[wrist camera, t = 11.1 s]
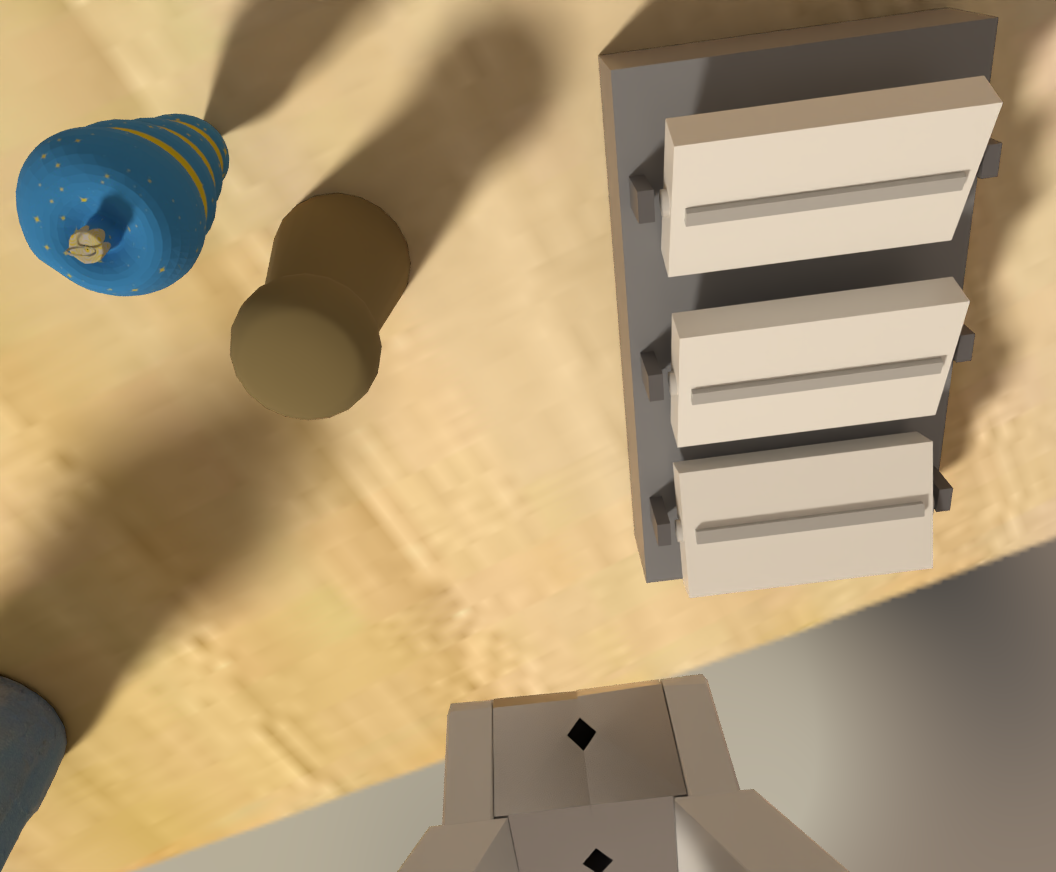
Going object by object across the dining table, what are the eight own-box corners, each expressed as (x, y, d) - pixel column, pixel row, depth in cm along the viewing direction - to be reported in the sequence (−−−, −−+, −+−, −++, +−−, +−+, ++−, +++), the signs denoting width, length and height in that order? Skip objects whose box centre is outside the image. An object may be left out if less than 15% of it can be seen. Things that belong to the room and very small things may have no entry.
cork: (278, 322, 41) (217, 445, 32) (266, 190, 38) (194, 281, 28) (411, 326, 41) (390, 448, 32) (409, 195, 38) (385, 287, 29)
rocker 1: (659, 119, 31) (670, 152, 30) (990, 74, 31) (1012, 106, 30) (655, 250, 36) (664, 283, 35) (941, 212, 36) (959, 244, 34)
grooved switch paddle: (668, 462, 40) (675, 476, 39) (921, 430, 40) (940, 442, 38) (679, 583, 42) (686, 601, 40) (921, 553, 42) (940, 570, 40)
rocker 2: (666, 313, 35) (675, 344, 34) (957, 275, 35) (978, 305, 34) (665, 422, 39) (674, 453, 38) (925, 389, 39) (942, 419, 38)
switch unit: (598, 55, 36) (618, 79, 31) (955, 6, 36) (1040, 22, 30) (634, 534, 48) (653, 612, 43) (901, 501, 48) (955, 575, 42)
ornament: (142, 59, 35) (-56, 142, 22) (275, 74, 36) (159, 164, 23) (154, 191, 38) (-16, 333, 25) (278, 203, 38) (175, 349, 25)
